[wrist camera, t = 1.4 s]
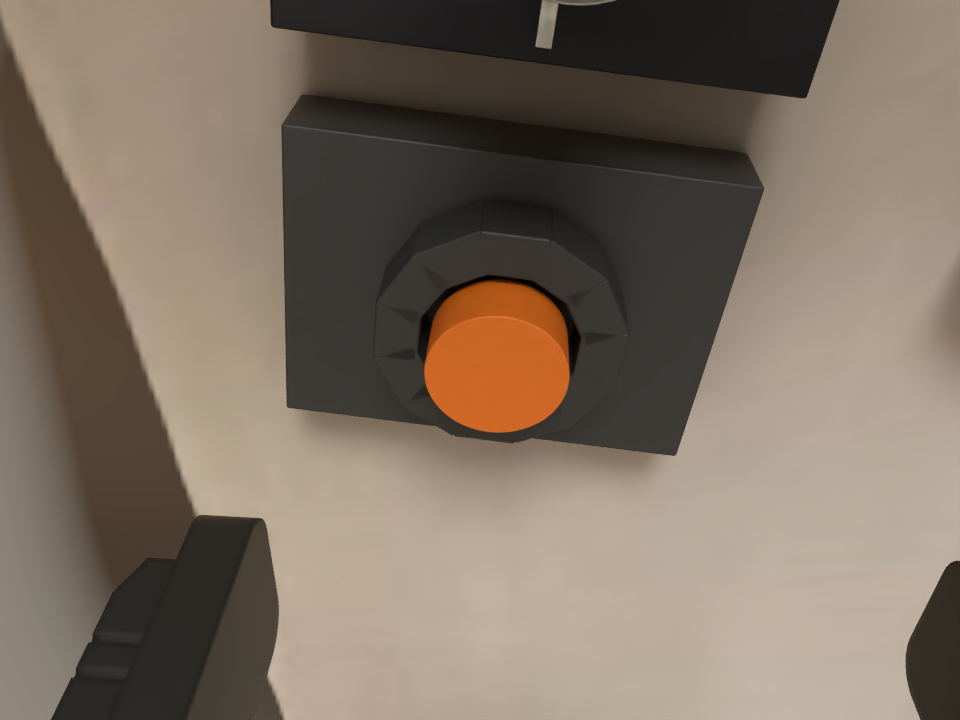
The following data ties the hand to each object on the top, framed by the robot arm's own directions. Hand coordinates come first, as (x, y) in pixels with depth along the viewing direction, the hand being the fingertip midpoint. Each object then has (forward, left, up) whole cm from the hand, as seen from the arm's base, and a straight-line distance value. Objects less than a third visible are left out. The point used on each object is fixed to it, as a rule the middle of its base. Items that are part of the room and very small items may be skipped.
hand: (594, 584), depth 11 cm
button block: (-1, -5, -16) cm, 16 cm away
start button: (-1, -5, -12) cm, 13 cm away
